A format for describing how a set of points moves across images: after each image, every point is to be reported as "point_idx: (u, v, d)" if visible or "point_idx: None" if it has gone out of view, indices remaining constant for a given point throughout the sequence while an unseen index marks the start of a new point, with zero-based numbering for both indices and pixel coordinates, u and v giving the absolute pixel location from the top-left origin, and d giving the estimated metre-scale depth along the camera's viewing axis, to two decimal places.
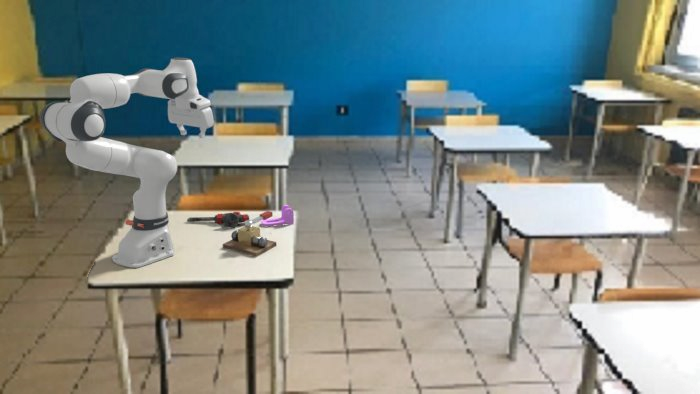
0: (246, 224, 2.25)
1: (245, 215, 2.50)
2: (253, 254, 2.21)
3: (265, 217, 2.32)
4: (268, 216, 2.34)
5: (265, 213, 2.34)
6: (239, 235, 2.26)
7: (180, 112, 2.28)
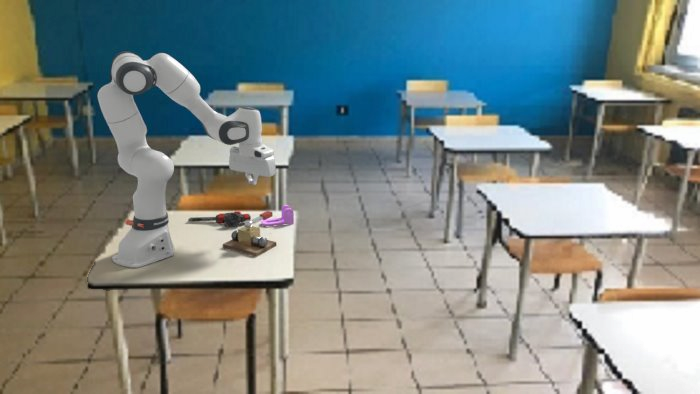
0: (246, 224, 2.25)
1: (246, 214, 2.51)
2: (253, 254, 2.21)
3: (265, 217, 2.32)
4: (268, 216, 2.34)
5: (265, 213, 2.34)
6: (239, 235, 2.26)
7: (242, 160, 2.31)
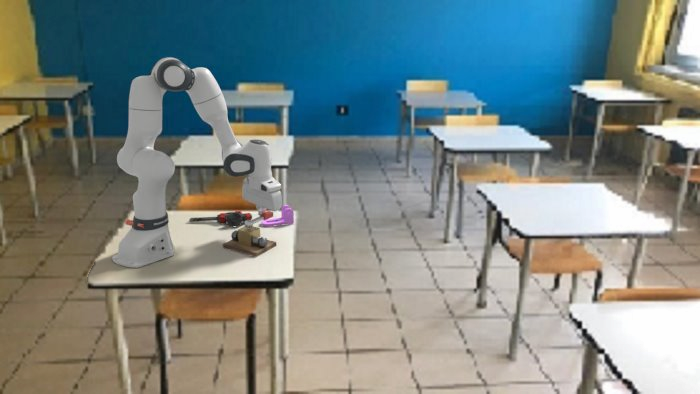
0: (246, 224, 2.25)
1: (248, 214, 2.51)
2: (253, 254, 2.21)
3: (266, 217, 2.32)
4: (268, 216, 2.34)
5: (266, 213, 2.34)
6: (239, 235, 2.26)
7: (252, 191, 2.34)
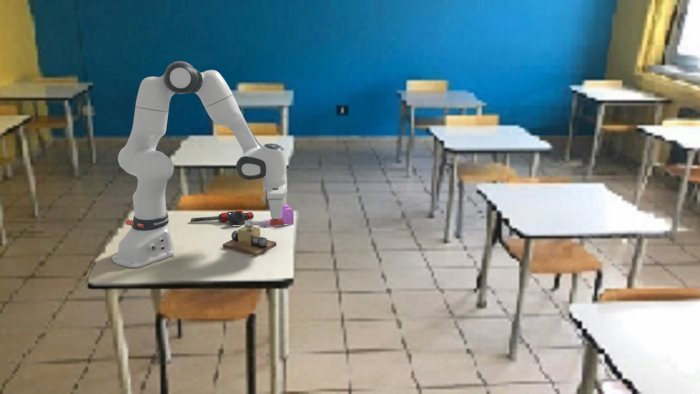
0: (245, 223, 2.26)
1: (249, 213, 2.53)
2: (253, 254, 2.21)
3: (272, 223, 2.26)
4: (276, 223, 2.27)
5: (276, 219, 2.28)
6: (239, 235, 2.26)
7: None
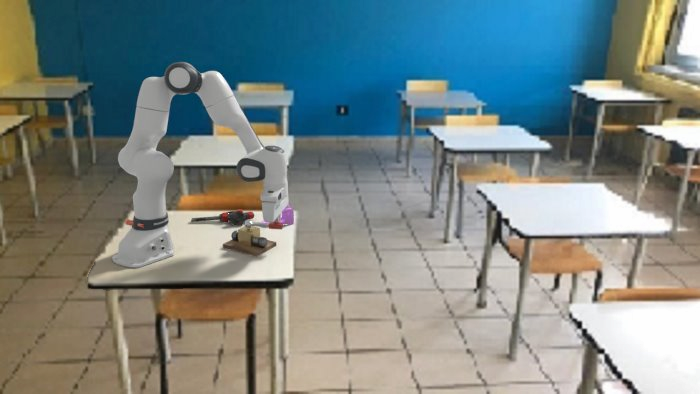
0: None
1: (250, 212, 2.53)
2: (253, 254, 2.21)
3: (270, 226, 2.24)
4: (274, 226, 2.23)
5: (275, 223, 2.24)
6: (239, 235, 2.26)
7: None
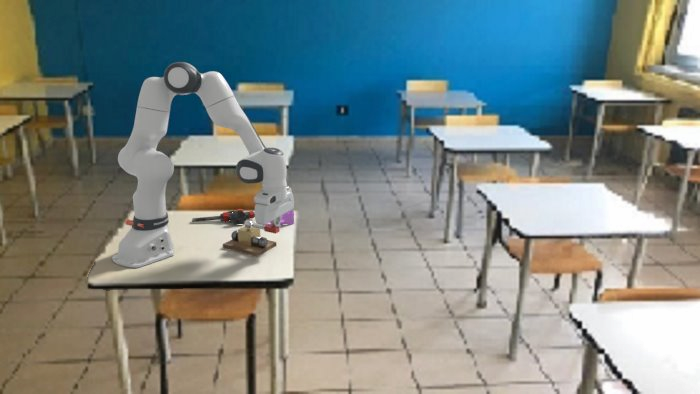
0: None
1: (251, 212, 2.54)
2: (253, 254, 2.21)
3: (265, 229, 2.21)
4: (269, 230, 2.20)
5: (271, 226, 2.21)
6: (239, 235, 2.26)
7: None
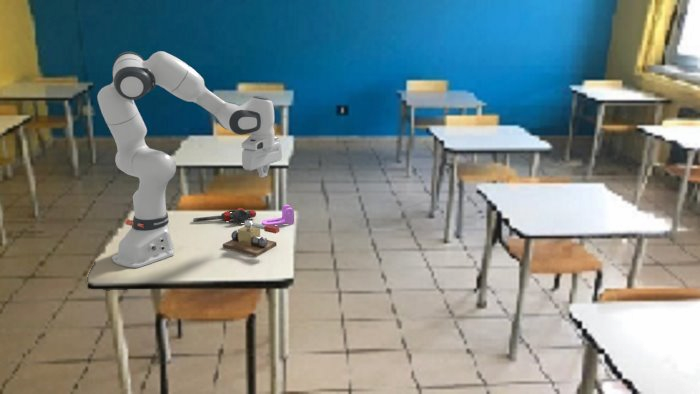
0: None
1: (252, 211, 2.55)
2: (253, 254, 2.21)
3: (265, 229, 2.21)
4: (269, 230, 2.20)
5: (271, 226, 2.21)
6: (239, 235, 2.26)
7: None
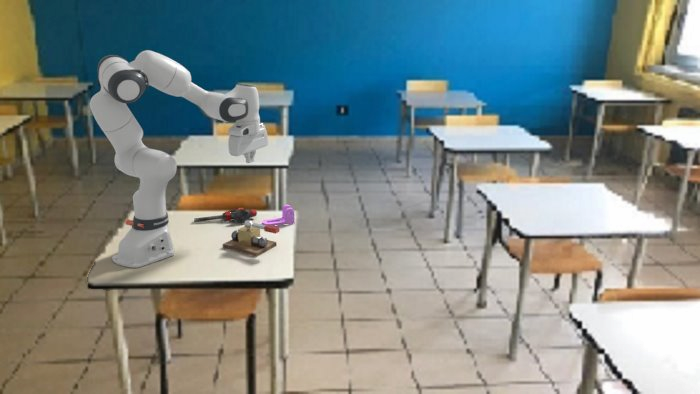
0: None
1: (253, 210, 2.56)
2: (253, 254, 2.21)
3: (265, 229, 2.21)
4: (269, 230, 2.20)
5: (271, 226, 2.21)
6: (239, 235, 2.26)
7: None
